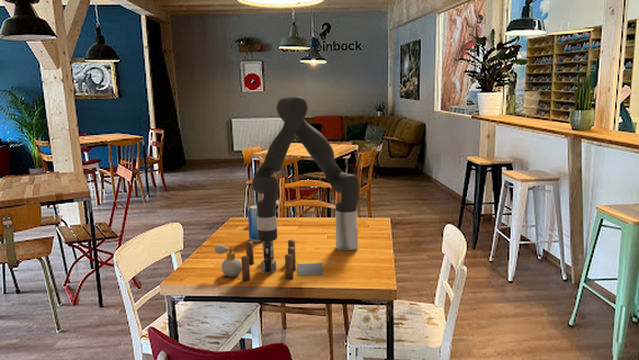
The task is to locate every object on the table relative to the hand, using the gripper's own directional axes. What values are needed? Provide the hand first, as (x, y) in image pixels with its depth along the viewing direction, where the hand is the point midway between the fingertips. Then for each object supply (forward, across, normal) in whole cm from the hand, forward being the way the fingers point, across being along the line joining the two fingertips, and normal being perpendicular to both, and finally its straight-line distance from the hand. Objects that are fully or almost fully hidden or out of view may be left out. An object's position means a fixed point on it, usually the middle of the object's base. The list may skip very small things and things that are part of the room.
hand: (268, 268), depth 183 cm
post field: (+1, +2, 0) cm, 2 cm away
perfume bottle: (+1, -3, +15) cm, 15 cm away
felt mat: (+1, 0, -16) cm, 16 cm away
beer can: (+1, +40, +7) cm, 41 cm away
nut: (+1, 0, 0) cm, 1 cm away
